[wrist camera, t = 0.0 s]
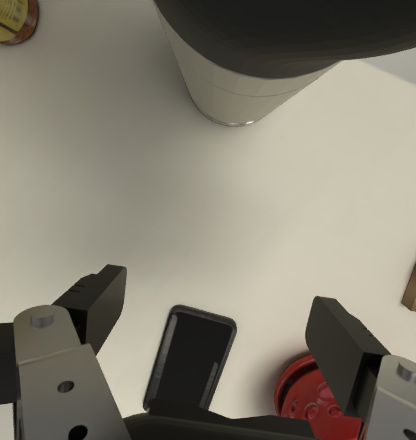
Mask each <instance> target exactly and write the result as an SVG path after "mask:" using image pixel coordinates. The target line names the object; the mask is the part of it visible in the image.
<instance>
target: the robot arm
mask: <svg viewBox="0 0 416 440" xmlns="http://www.w3.org/2000/svg"><path fill="white" fill-rule="evenodd" d="M153 2H154V5H155V7H156V10H157V12H158V15H159V17H160V20H161V22H162V25H163V27H164V30H165V33H166V35H167V37H168V39H169V42H170V44H171V47H172V49H173V52H174V55H175V57H176V60H177V62H178V65H179V67H180V70H181V72H182V75H183V77H184V80H185V83H186V85H187V88H188V90H189V93H190V95H191V97H192V99H193V101H194V103H195V104H196V106H197V107H198V108H199V110H200V111H201V112H202V113H203V114H205V115H206V116H207V117H208V118H209V119H211V120H213V121H215V122H217V123H220V124H223V125H227V126H243V125H248V124H251V123H253V122H256V121H258V120H260V119H261V118H263V117H264V116H265V115H267V114H268V113H270V112H272V111H273V110H274V109H276V108H277V107H279V106H280V105H281V104H283V103H284V102H286V101H287V100H288V99H290V98H291V97H293V96H294V95H296V94H297V93H298V92H300V91H301V90H303V89H304V88H305V87H307V86H308V85H310V84H311V83H312V82H314V81H315V80H317V79H318V78H319V77H320V76H322V75H323V74H325V73H326V72H327V71H329V70H330V69H331V68H333V67H334V66H336V65H337V64H338V63H340V62H341V61H343V60H352V59H361V58H369V57H376V56H382V55H387V54H392V53H396V52H400V51H404V50H408V49H412V48H415V47H416V0H153ZM126 275H127V269H126V267H123V266H116V265H110V264H108V265H106V266H105V267H104V268H103V269H102V270H101V271H100V272H99V273H98V274H90V275H88V276H85V277H83V278H81V279H80V280H79V281H77V282H76V283H75V284H74V286H72V287H71V288H70V289H68V291H66V292H65V293H64V294H63V295H62V296H60V297H59V298H58V299H57V300H56V301H55V302H54V303H53V304H51V305H42V306H36V307H32V308H29V309H27V310H25V311H23V312H21V313H19V314H18V315H17V316H16V317H15V319H14V321H13V323H0V405H1V404H8V403H13V425H14V440H322V439H320V438H317V437H315V436H314V434H313V431H312V429H311V426H310V423H309V421H308V420H301V419H294V418H287V417H280V416H273V415H267V416H258V417H249V418H240V419H230V418H227V417H224V416H222V415H219V414H216V413H214V412H211V411H208V410H206V409H203V408H201V407H198V406H195V405H193V404H189V403H182V402H175V401H168V400H161V399H153V398H152V402H151V406H150V410H149V412H147V413H140V414H136V415H132V416H129V417H126V418H123V419H122V417H121V414H120V412H119V410H118V407H117V405H116V403H115V400H114V398H113V396H112V393H111V391H110V389H109V386H108V384H107V381H106V379H105V377H104V374H103V372H102V370H101V367H100V365H99V363H98V360H97V358H96V355H97V354H98V352H99V350H100V349H101V347H102V345H103V344H104V342H105V340H106V339H107V337H108V335H109V334H110V332H111V330H112V329H113V327H114V325H115V324H116V322H117V320H118V319H119V317H120V315H121V312H122V309H123V304H124V295H125V285H126ZM305 339H306V344H307V346H308V348H309V350H310V352H311V354H312V356H313V358H314V359H315V361H316V363H317V365H318V367H319V369H320V371H321V373H322V375H323V377H324V379H325V381H326V383H327V384H328V386H329V388H330V390H331V392H332V394H333V396H334V398H335V400H336V402H337V404H338V406H339V407H340V409H341V411H342V413H343V415H344V416H349V417H356V418H361V420H362V422H361V425H360V428H359V431H358V435H357V439H356V440H416V363H414V362H412V361H410V360H408V359H406V358H403V357H400V356H395V355H391V353H390V352H389V351H388V350H387V349H386V348H385V347H384V346H383V345H382V344H381V343H380V342H379V341H378V340H377V339H376V337H373V334H372V333H371V332H370V331H369V330H367V328H366V327H365V326H364V325H363V324H362V322H361V321H360V320H358V319H357V318H355V317H354V316H352V315H351V314H350V313H348V312H347V311H346V310H345V309H344V307H343V306H342V305H341V304H340V303H339V302H338V301H337V300H336V299H333V298H327V297H320V296H316V297H315V298H314V300H313V303H312V307H311V311H310V315H309V319H308V323H307V327H306V332H305Z"/></svg>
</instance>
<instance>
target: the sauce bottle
mask: <svg viewBox="0 0 416 440" xmlns="http://www.w3.org/2000/svg"><path fill="white" fill-rule="evenodd" d="M37 19H38V6H37V0H0V43H1V44H4V45H9V44H16V43H19V42H21V41H23V40H25V39H27V38H28V37H30V35H31V34H32V33H33V31H34V29H35V26H36V21H37Z"/></svg>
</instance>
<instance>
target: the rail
mask: <svg viewBox="0 0 416 440" xmlns="http://www.w3.org/2000/svg"><path fill="white" fill-rule="evenodd" d="M402 304H403V305H404V306H406V307H407V308H408V309H409V310H411V311H415V312H416V264H415V267H414V270H413V272H412V275H411V278H410V281H409V284H408V286H407V289H406V292H405V295H404V297H403V300H402Z"/></svg>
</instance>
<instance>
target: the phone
mask: <svg viewBox="0 0 416 440" xmlns="http://www.w3.org/2000/svg"><path fill="white" fill-rule="evenodd" d="M206 313H207V314H206ZM209 314H211V315H209ZM236 333H237V327H236V323H235V321H234V320H233V319H231V318H228V317H225V316H221V315H217V314H214V313H210V312H207V311H203V310H199V309H196V308H192V307H188V306H185V305H176V306H174V307H173V308H172V309H171V311H170V314H169V318H168V321H167V325H166V328H165V331H164V335H163V338H162V341H161V345H160V348H159V352H158V355H157V358H156V362H155V365H154V368H153V372H152V375H151V379H150V382H149V385H148V389H147V392H146V395H145V399H144V402H143V408H144V410H145V411H146V412H149V410H150V406H151V402H152V398H153V399H161V400H168V401H175V402H182V403H189V404H193V405H195V406H198V407H201V408H203V409H206V410H208V409H209V406H210V403H211V401H212V398H213V395H214V393H215V390H216V387H217V385H218V382H219V379H220V376H221V374H222V371H223V368H224V366H225V363H226V360H227V358H228V355H229V352H230V349H231V347H232V344H233V341H234V339H235V336H236Z"/></svg>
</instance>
